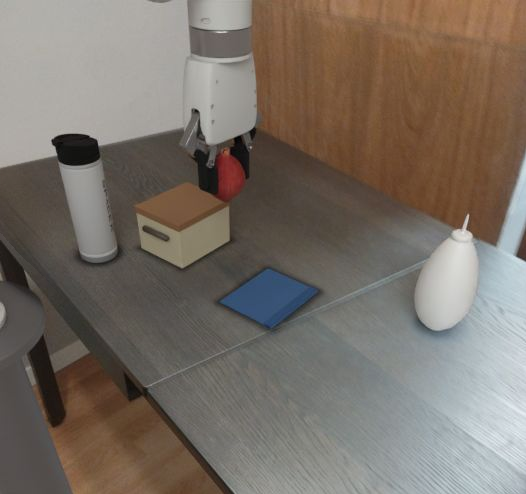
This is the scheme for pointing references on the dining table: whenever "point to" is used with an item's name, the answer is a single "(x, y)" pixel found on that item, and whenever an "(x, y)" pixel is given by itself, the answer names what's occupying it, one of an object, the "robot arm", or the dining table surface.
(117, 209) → the dining table surface
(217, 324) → the dining table surface
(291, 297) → the cloth
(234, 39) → the robot arm
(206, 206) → the bin
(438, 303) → the white air blower bulb
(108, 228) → the travel mug
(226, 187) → the red pomegranate
